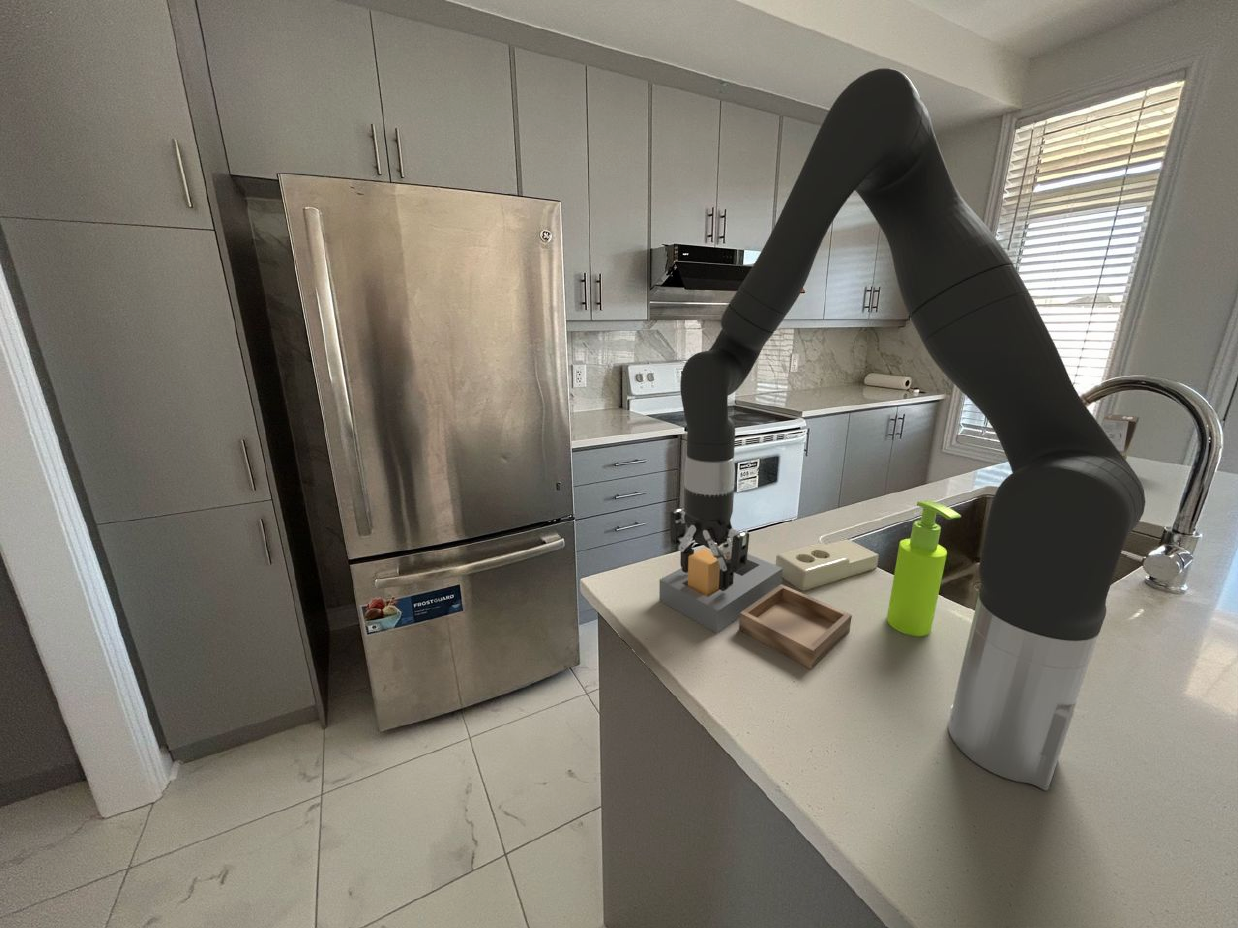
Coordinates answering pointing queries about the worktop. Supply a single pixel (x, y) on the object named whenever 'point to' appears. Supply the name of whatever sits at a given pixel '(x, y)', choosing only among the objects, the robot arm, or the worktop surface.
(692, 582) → the plug
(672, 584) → the cinder block
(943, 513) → the soap dispenser
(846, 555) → the electrical outlet
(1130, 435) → the coffee box
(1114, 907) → the worktop surface
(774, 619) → the tray
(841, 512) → the worktop surface
